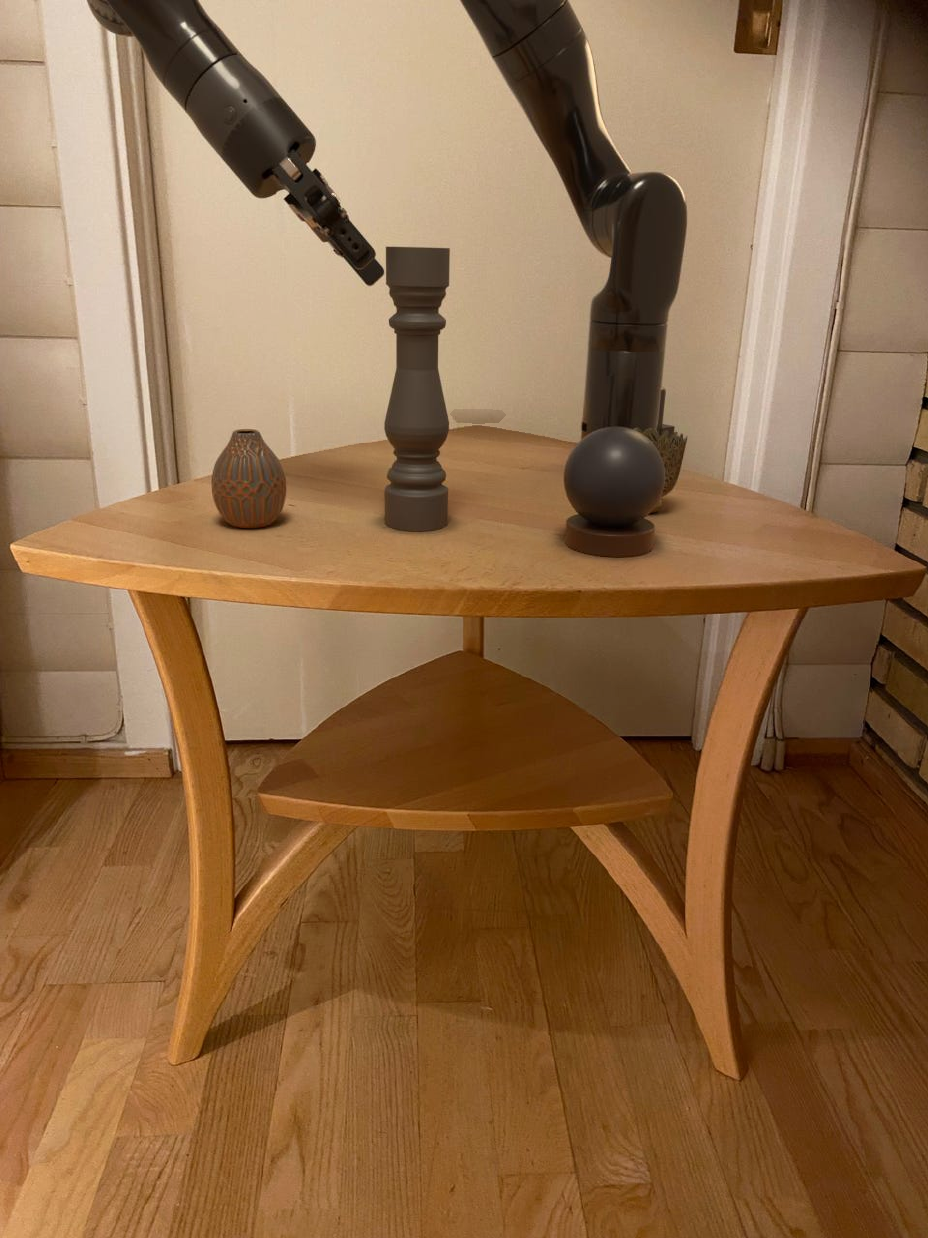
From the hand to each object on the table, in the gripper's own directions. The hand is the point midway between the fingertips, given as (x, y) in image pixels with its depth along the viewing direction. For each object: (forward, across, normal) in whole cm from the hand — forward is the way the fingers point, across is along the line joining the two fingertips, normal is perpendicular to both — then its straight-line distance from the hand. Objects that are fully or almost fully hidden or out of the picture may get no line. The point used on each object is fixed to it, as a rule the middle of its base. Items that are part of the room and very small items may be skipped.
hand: (373, 271), depth 87 cm
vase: (+9, 0, +24) cm, 26 cm away
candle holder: (+20, +2, +12) cm, 24 cm away
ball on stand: (+33, -4, 0) cm, 33 cm away
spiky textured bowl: (+35, +9, -6) cm, 36 cm away
